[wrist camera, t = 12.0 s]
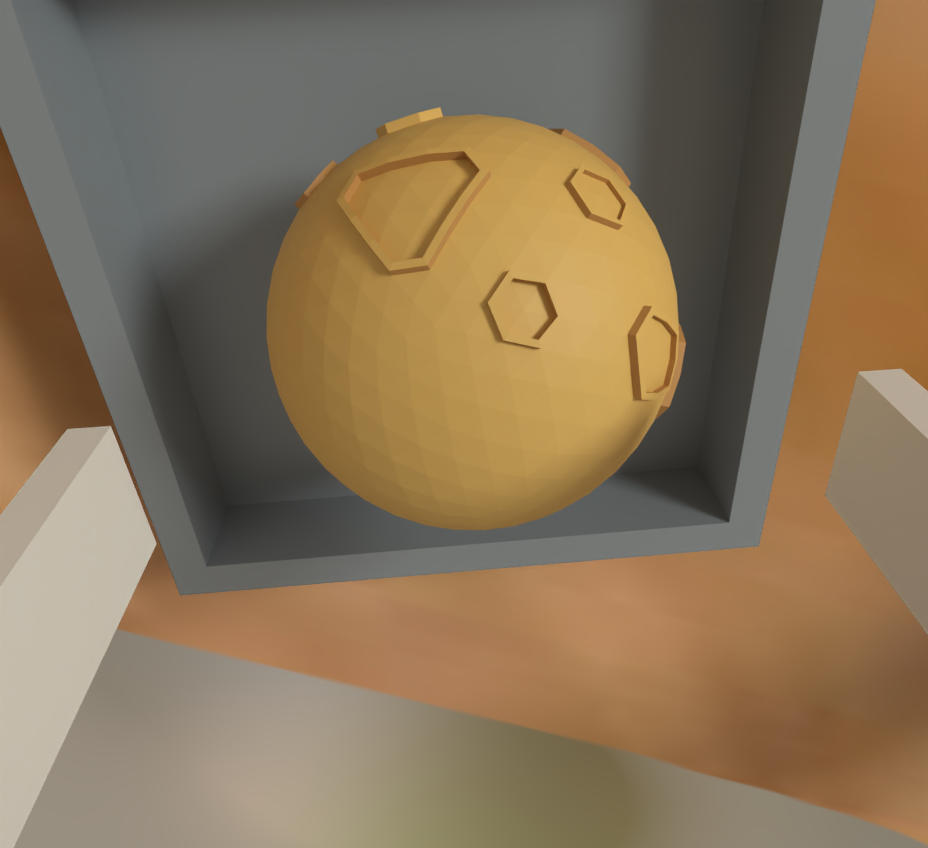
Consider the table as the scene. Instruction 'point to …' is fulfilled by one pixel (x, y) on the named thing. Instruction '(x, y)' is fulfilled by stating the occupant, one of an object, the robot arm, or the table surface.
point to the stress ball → (473, 320)
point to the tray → (336, 138)
